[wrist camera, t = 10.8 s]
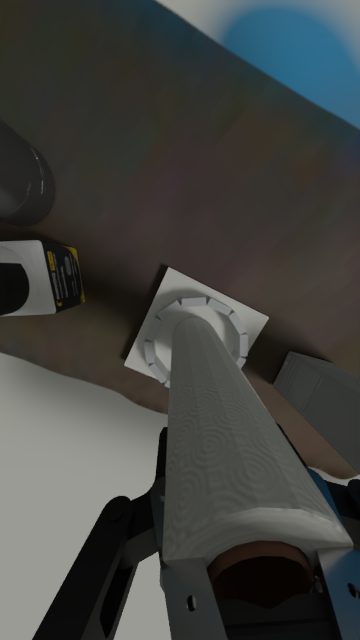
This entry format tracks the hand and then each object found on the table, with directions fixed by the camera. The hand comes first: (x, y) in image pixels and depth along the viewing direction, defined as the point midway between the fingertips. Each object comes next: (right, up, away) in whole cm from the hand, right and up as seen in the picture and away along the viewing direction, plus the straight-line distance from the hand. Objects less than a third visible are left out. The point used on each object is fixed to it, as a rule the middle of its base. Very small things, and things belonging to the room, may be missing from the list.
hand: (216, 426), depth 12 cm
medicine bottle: (-19, +13, +13) cm, 26 cm away
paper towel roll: (0, +4, +14) cm, 15 cm away
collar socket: (0, +4, +16) cm, 16 cm away
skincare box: (+17, -1, +18) cm, 25 cm away
